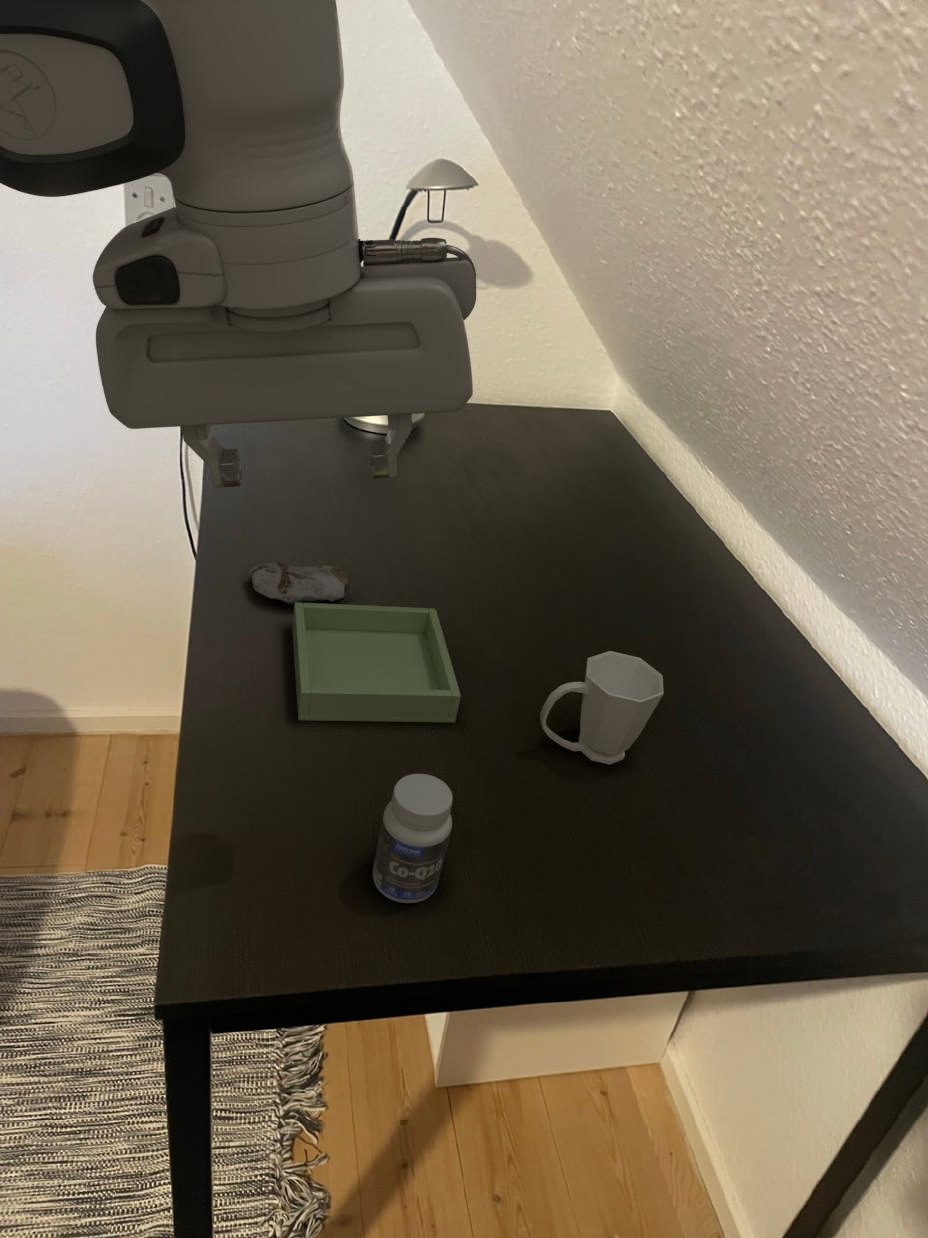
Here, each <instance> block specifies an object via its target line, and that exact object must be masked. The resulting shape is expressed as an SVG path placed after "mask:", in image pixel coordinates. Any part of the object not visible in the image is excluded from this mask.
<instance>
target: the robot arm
mask: <svg viewBox="0 0 928 1238" xmlns="http://www.w3.org/2000/svg"><path fill="white" fill-rule="evenodd" d="M343 59H344V58H343V50H342V39H341V31H340V22H339V15H338V5H337V0H0V184H1V185H3V186H6V188H7V187H8V188H9V189H12V190H14V191H17V192H20V193H23V194H27V195H32V196H36V197H43V198H60V197H61V198H62V197H69V196H75V195H79V194H85V193H90V192H95V191H99V190H104V189H108V188H111V187H116V186H120V185H124V184H127V183H131V182H134V181H135V182H136V181H138V180H142V179H144V178H147V177H150V176H153V175H160V176H163V177H165V178H166V179H167V180H168V181H169V183H170V187H171V188H170V189H171V192H172V197H173V202H174V207H170V208H168V209H166V210H163V211H161V212H158V213H155V214H153V215H151V216H149V217H146V218H143V219H141V220H138V221H135V222H133V223H131V224H128V225H126V226H124V227H123V228H121V229H120V230H119V231H118V232H117V233H116V234H115V235H114V236H113V237H112V238H111V239H110V240H109V242H108V243H107V244H106V245H105V247H104V248H103V250H102V251H101V253H100V254H99V256H98V257H97V260H96V262H95V266H94V267H93V268H94V269H93V272H92V283H93V284H92V285H93V287H94V290H95V293H96V296H97V298H98V300H99V302H100V303H101V304H102V305H103V306H105V308H104V310H103V312H102V314H101V315H100V317H99V319H98V322H97V324H96V328H95V347H96V357H97V364H98V371H99V375H100V381H101V387H102V391H103V394H104V399H105V402H106V405H107V408H108V411H109V413H110V415H111V416H112V417H114V419H116V420H117V421H118V422H119V423H121V424H122V425H123V426H125V427H126V428H128V429H130V430H140V429H141V430H142V429H157V428H176V427H177V428H178V427H180V431H181V434H182V439H183V442H184V443H185V444H186V445H187V447H189V448H190V449H191V450H192V451H193V452H194V453H195V454H196V455H197V456H198V457H199V458H200V459H201V461H203V462H204V463H205V464H206V466H209V469H210V473H211V477H212V481H213V486H214V488H215V489H218V488H219V489H221V488H236V487H241V483H242V482H241V481H242V479H243V469H242V468H243V467H242V464H241V463H240V459H241V458H240V453H239V449H238V448H224V446H223V445H222V444H221V443H220V442H219V440H217V438H216V437H215V436H214V435H213V433H212V432H211V428H212V426H214V425H217V426H218V425H232V424H235V425H236V424H251V423H252V424H253V423H269V422H270V423H271V422H286V421H287V422H288V421H308V420H325V419H344V418H346V419H347V418H363V417H364V418H365V417H381V416H382V417H383V416H387V425H388V429H389V430H388V431H387V434H386V436H385V438H384V440H383V439H382V440H371V442H370V449H371V451H370V454H371V455H370V457H371V466H372V477H373V478H372V479H374V480H376V479H378V480H379V479H395V478H398V458H397V455H399V453H400V451H401V450H402V447H403V446H404V444H405V443H406V441H407V439H408V438H409V436H410V434H411V433H412V431H413V416H412V415H419V414H439V413H440V414H441V413H455V412H459V411H461V410H462V409H463V408H464V407H465V406H466V404H467V403H468V402H469V400H470V399H471V397H473V394H474V383H473V373H472V372H473V371H472V364H471V363H472V362H471V353H470V347H469V339H468V334H467V328H466V324H465V320H466V319H467V318H468V317H470V315H471V313H472V312H473V311H474V308H475V305H476V302H477V273H476V267H475V264H474V262H473V261H472V259H471V256H469V254H468V253H466V252H465V251H464V250H463V249H461V248H460V247H457V246H455V245H451V244H447V240H446V239H445V238H441V237H424V238H421V239H420V240H417V239H415V240H405V239H403V240H400V239H397V240H396V239H367V240H361V238H360V237H359V236H360V235H359V234H360V233H359V225H358V213H357V204H356V191H355V181H354V173H353V167H352V164H351V161H350V158H349V155H348V152H347V150H346V146H345V144H344V139H343V135H342V128H341V127H342V126H341V111H342V109H341V108H342V101H343V100H342V99H343V97H344V88H345V69H344V60H343ZM449 254H450V255H453V257H452V256H451V257H448V255H449Z"/></svg>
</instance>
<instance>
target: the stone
mask: <svg viewBox="0 0 928 1238" xmlns="http://www.w3.org/2000/svg"><path fill="white" fill-rule="evenodd" d="M248 574H249V577H250V579H251V581H252V587H253V590H255V591H256V593H259V594H260V595H262V596H264V597H266V598H268V599H271V600H272V599H273V600H280V601H282V602H284V604H288V605H294V604H295V602H299V603H302V602H316V601H322V602H323V601H327V600H328V602H329V603H334V602H336V601H340V600H343V599H344V598H345V596H346V595H347V593H348V590H349V581H348V576H347V575H346V573H344V572H343V571H342V569H341V568H340V567H339V566H336V565H334V566H329V565H322V564H319V565H312V566H295V565H294V566H293V565H288V564H286V563H285V562H283V561H277V562H271V563H265V564H259V565H257V566H254V567H253V568H251V569H250V570H248Z"/></svg>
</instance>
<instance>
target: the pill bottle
mask: <svg viewBox="0 0 928 1238" xmlns="http://www.w3.org/2000/svg"><path fill="white" fill-rule="evenodd" d="M452 806H453V793H452V790H451V788H450V787H449V786H448V784H446V783H445V782H444V781H443V780H442V779H440V778H438V777H436V776H433V775H430V774H426V773H412V774H408V775H405V776H403V777H401V778H400V779H399V780H398V781H397V782H396V784H395V785H394V787H393V792H392V797H391V800H390V801H389V802H388V803H387V805H386V806H385V808H384V810H383V813H382V814H383V815H382V819H381V825H380V830H379V834H378V835H379V836H378V840H377V846H376V850H375V856H374V861H373V867H372V879H373V883H374V885H375V887H376V889H377V891H379V892H380V894H382V896H384V897H386V898H387V899H389V900H391V901H393V902H396V903H399V904H415V903H419V902H423V901H425V900H427V899H428V898H430V897H431V896H432V895H433V894H434V892H435V891H436V890H437V888H438V884H439V881H440V876H441V872H442V869H443V865H444V861H445V856H446V852H447V849H448V844H449V841H450V836H451V833H452V829H453V818H452V814H451V811H452Z"/></svg>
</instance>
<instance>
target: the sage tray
mask: <svg viewBox="0 0 928 1238" xmlns="http://www.w3.org/2000/svg"><path fill="white" fill-rule="evenodd" d="M291 628H292V630H291V631H292V643H293V644H292V645H293V646H292V647H293V660H294V676H295V690H296V706H297V708H296V709H297V719H298V721H317V722H318V721H320V722H322V721H323V722H327V721H328V722H385V723H386V722H389V723H390V722H391V723H395V722H397V723H400V722H401V723H456V721H457V715H458V711H459V707H460V702H461V698H462V695H461V691H460V688H459V684H458V681H457V677H456V675H455V671H454V668H453V664H452V659H451V657H450V654H449V650H448V646H447V643H446V639H445V637H444V636H445V635H444V632H443V630H442V629H443V628H442V627H441V622H440V619H439V615H438V612H437V609H436V608H432V607H429V608H427V607H406V606H387V605H385V606H383V605H362V604H344V603H343V604H341V603H339V604H338V603H321V602H320V603H319V602H295V603H293V615H292V627H291Z"/></svg>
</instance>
